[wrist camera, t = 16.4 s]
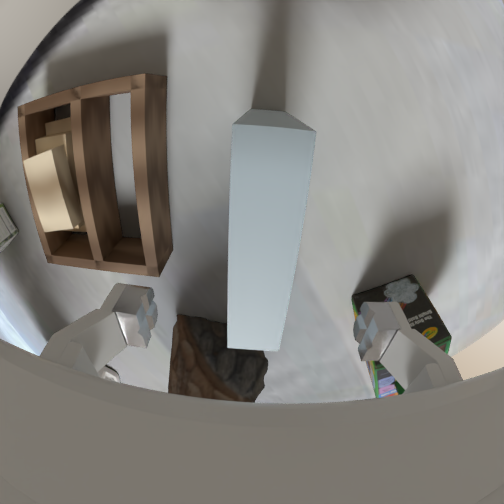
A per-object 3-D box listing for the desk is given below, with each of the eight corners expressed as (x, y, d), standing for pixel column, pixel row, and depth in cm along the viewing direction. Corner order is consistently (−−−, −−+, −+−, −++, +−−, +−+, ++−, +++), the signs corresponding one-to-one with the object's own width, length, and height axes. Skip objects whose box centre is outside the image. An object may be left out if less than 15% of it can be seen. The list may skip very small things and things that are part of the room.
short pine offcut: (83, 219, 24) (73, 228, 22) (54, 223, 24) (44, 232, 22) (64, 144, 19) (51, 149, 18) (35, 155, 20) (23, 160, 18)
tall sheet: (273, 230, 28) (278, 351, 15) (243, 228, 28) (227, 347, 15) (285, 111, 22) (316, 131, 9) (250, 108, 22) (232, 124, 9)
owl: (270, 328, 36) (268, 475, 19) (252, 375, 42) (245, 488, 26) (176, 311, 35) (134, 453, 18) (177, 362, 42) (150, 472, 25)
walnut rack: (173, 249, 30) (159, 277, 26) (68, 241, 30) (47, 262, 26) (167, 76, 20) (145, 73, 16) (47, 100, 20) (17, 106, 16)
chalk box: (358, 337, 37) (380, 427, 24) (349, 294, 32) (380, 399, 20) (414, 317, 34) (449, 400, 22) (415, 271, 30) (467, 363, 18)
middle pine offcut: (88, 219, 26) (79, 228, 24) (59, 218, 26) (50, 226, 24) (77, 130, 21) (65, 133, 19) (47, 135, 21) (35, 139, 19)
